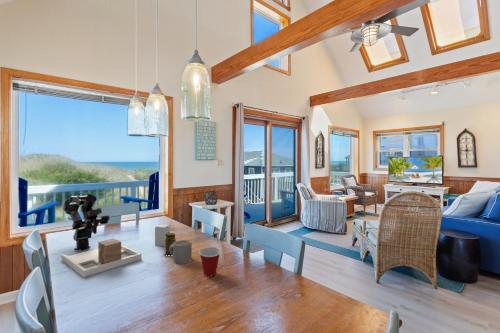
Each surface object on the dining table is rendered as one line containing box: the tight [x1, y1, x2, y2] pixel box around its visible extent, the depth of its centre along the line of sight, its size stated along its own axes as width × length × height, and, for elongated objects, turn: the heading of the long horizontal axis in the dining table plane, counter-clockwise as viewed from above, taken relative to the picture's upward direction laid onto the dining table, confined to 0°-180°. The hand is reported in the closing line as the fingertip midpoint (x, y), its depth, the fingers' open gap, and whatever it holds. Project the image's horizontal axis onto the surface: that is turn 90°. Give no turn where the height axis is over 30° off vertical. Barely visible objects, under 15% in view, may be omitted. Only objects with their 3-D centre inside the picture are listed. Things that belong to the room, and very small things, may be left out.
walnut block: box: [97, 238, 122, 264], centre depth 136 cm, size 9×8×11 cm
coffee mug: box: [170, 239, 193, 264], centre depth 144 cm, size 13×10×10 cm
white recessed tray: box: [61, 244, 142, 278], centre depth 143 cm, size 34×29×3 cm
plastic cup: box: [198, 246, 222, 277], centre depth 125 cm, size 11×11×12 cm
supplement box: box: [154, 224, 171, 247], centre depth 170 cm, size 7×7×13 cm
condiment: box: [163, 232, 177, 258], centre depth 152 cm, size 7×8×12 cm
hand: (95, 233), depth 148 cm, fingers closed
